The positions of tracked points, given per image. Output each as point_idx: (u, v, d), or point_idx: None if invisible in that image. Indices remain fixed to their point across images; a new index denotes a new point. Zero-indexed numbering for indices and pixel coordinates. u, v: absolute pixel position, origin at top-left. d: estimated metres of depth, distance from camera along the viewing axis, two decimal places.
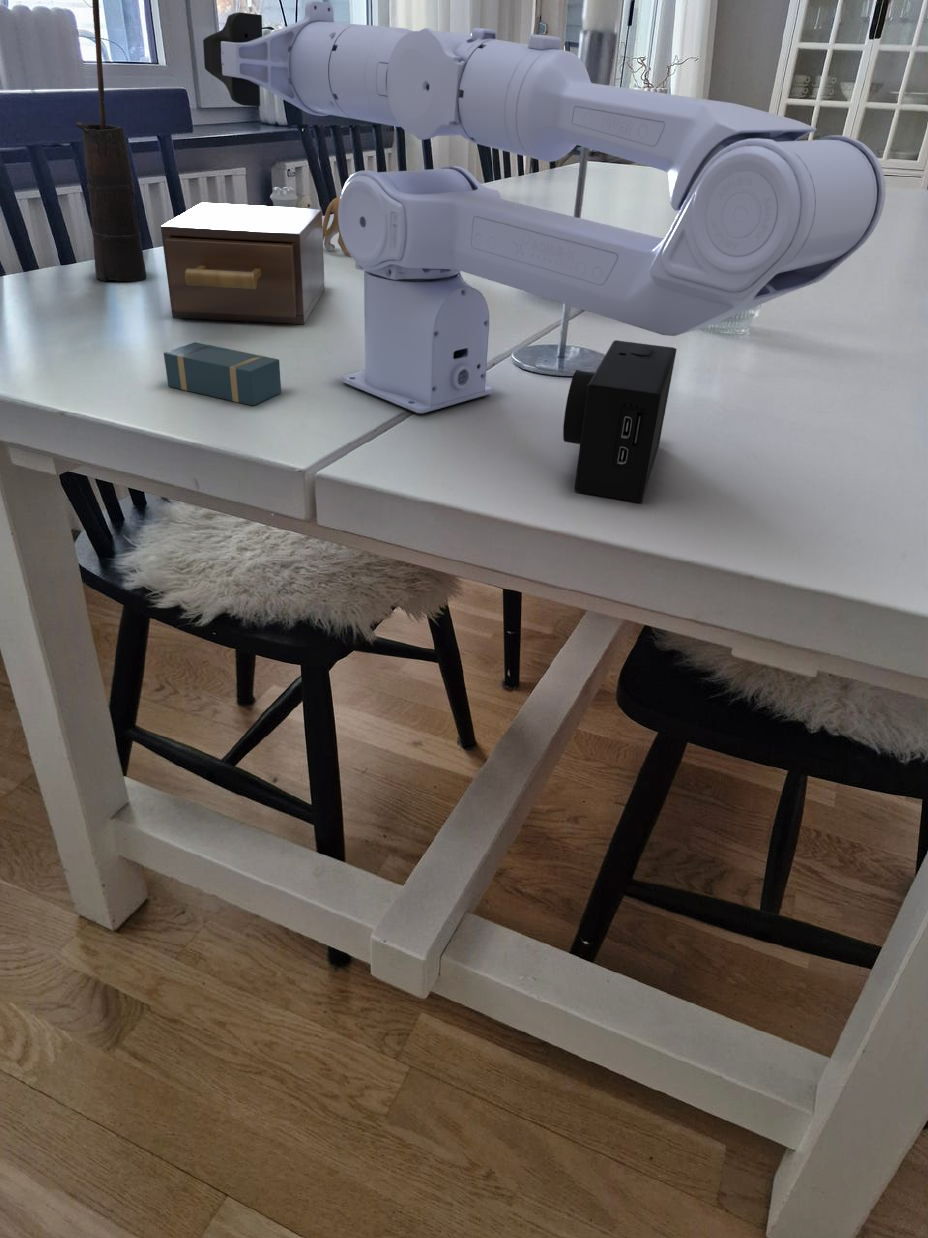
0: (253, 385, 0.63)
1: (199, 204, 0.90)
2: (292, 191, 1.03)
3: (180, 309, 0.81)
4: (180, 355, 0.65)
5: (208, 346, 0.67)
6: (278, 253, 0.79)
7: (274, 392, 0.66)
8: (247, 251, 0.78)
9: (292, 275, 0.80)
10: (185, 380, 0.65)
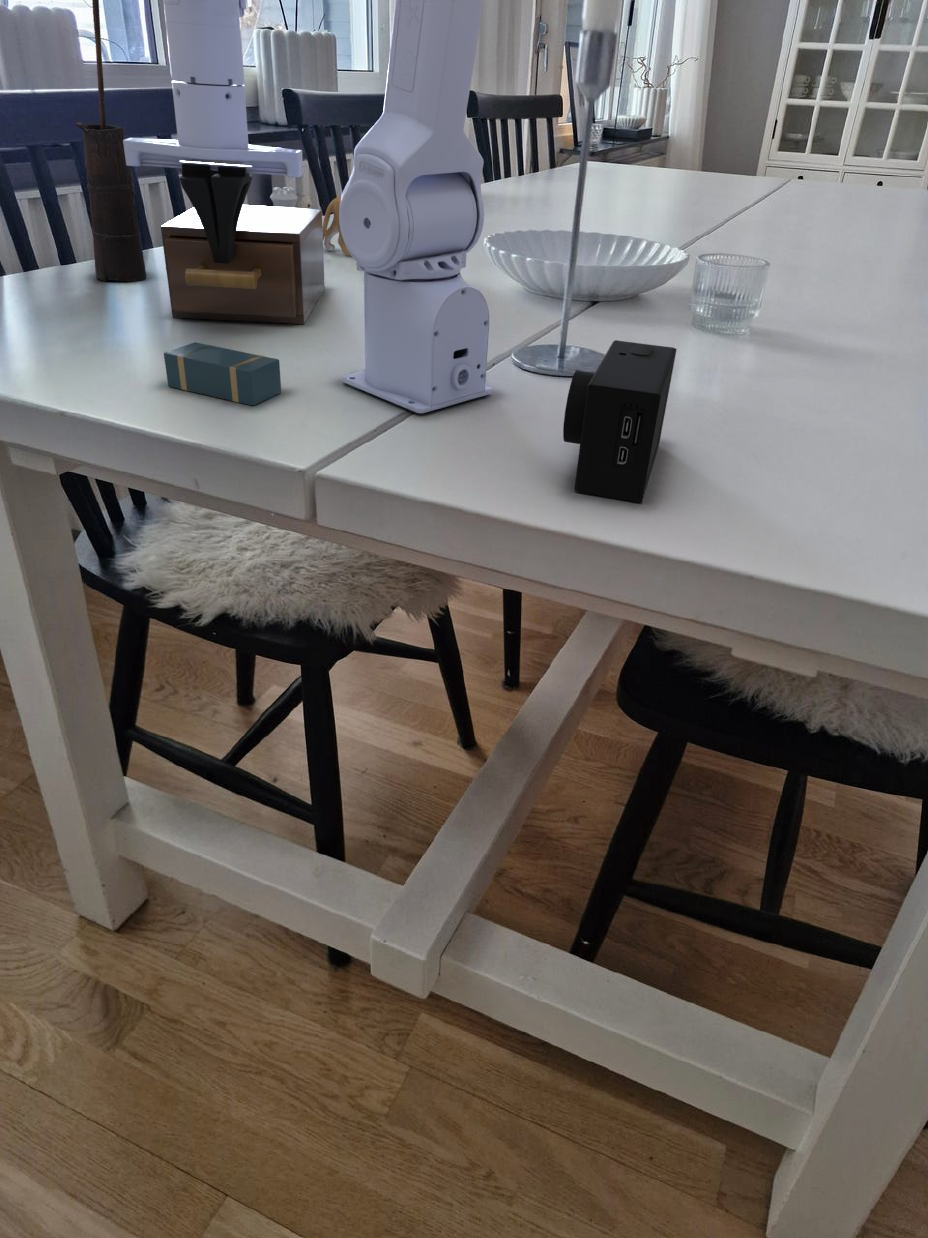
0: (253, 385, 0.63)
1: None
2: (292, 191, 1.03)
3: (180, 309, 0.81)
4: (180, 355, 0.65)
5: (208, 346, 0.67)
6: (278, 253, 0.79)
7: (274, 392, 0.66)
8: (247, 251, 0.78)
9: (292, 275, 0.80)
10: (185, 380, 0.65)
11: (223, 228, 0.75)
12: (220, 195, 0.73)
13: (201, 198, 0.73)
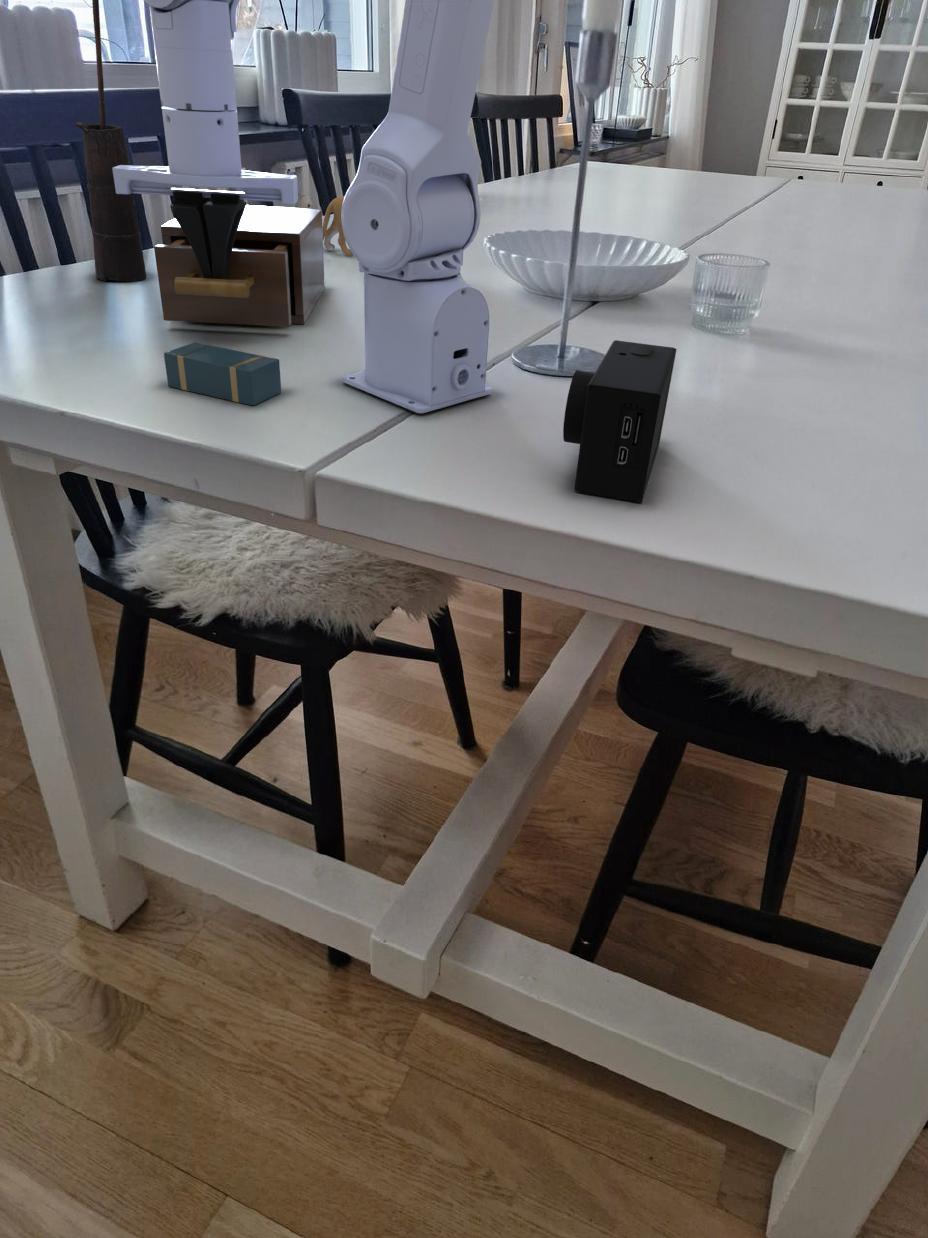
0: (253, 385, 0.63)
1: None
2: None
3: (170, 318, 0.78)
4: (180, 355, 0.65)
5: (208, 346, 0.67)
6: (272, 260, 0.76)
7: (274, 392, 0.66)
8: (239, 258, 0.76)
9: (286, 283, 0.77)
10: (185, 380, 0.65)
11: (216, 256, 0.72)
12: (213, 223, 0.70)
13: (193, 226, 0.71)
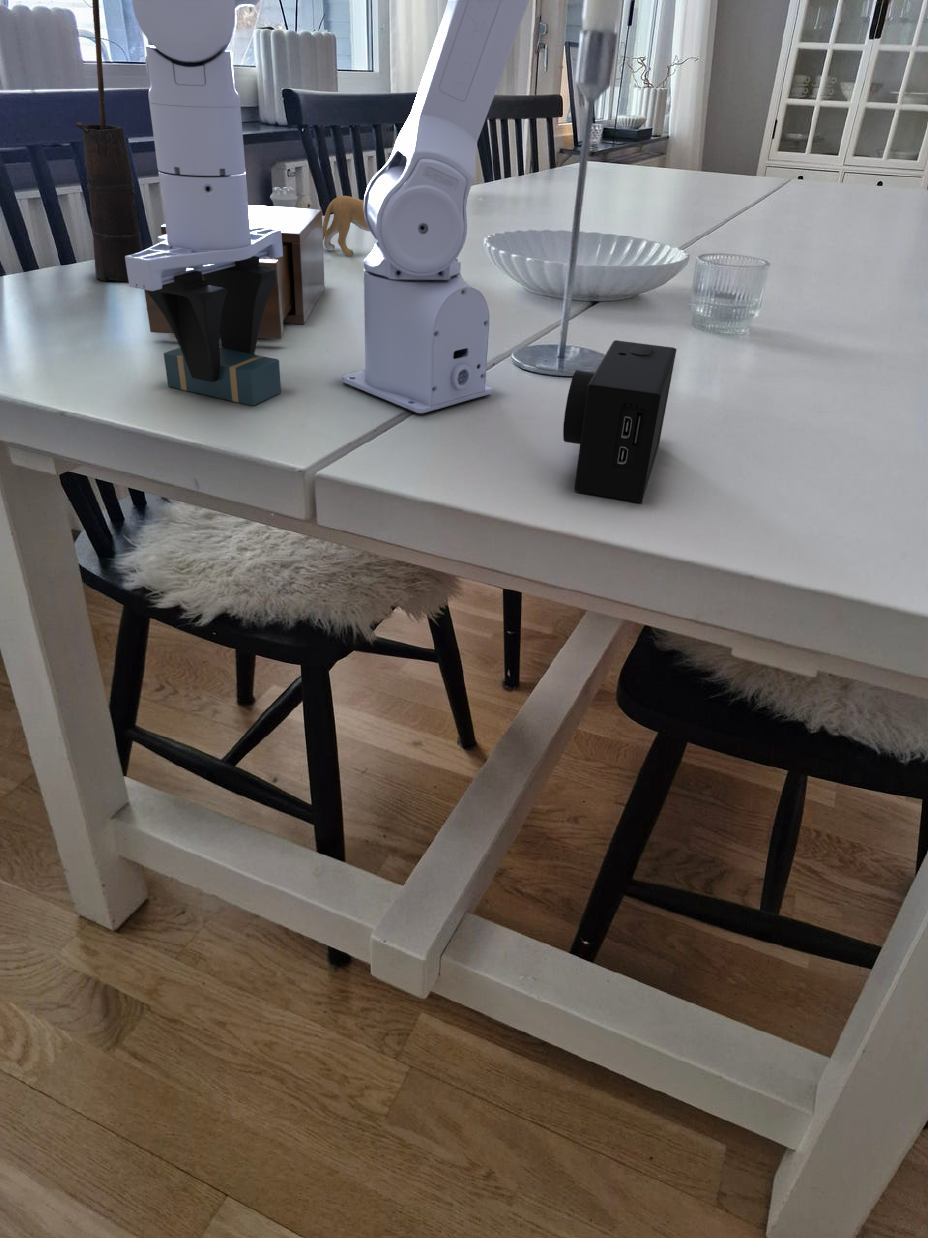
0: (252, 385, 0.63)
1: None
2: (292, 191, 1.03)
3: (157, 330, 0.75)
4: (180, 355, 0.65)
5: None
6: None
7: (274, 392, 0.66)
8: None
9: (278, 294, 0.73)
10: (185, 380, 0.65)
11: (255, 327, 0.65)
12: (262, 291, 0.64)
13: (216, 310, 0.60)
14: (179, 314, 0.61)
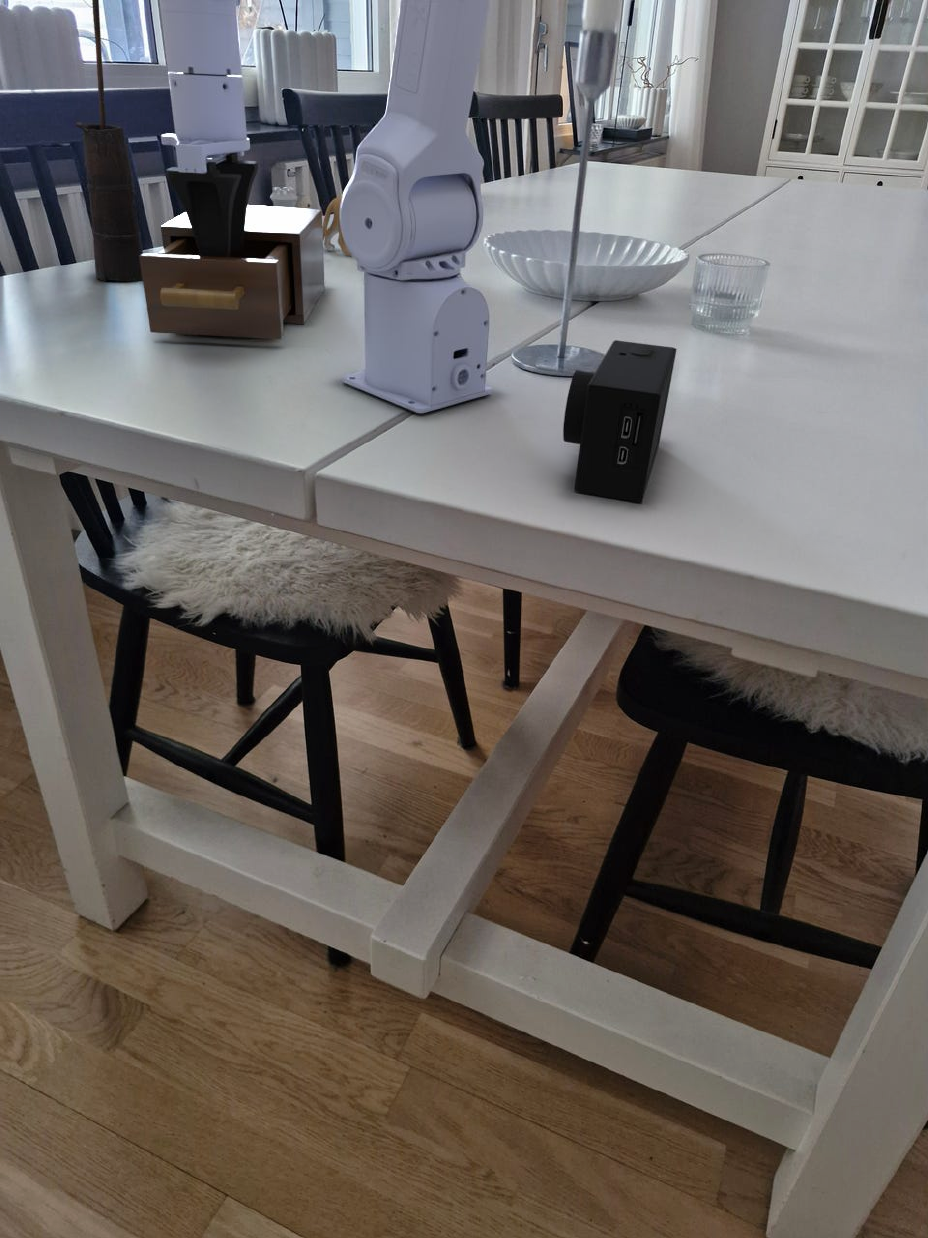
0: None
1: None
2: (292, 191, 1.03)
3: (157, 330, 0.75)
4: None
5: None
6: (263, 270, 0.72)
7: None
8: (229, 268, 0.72)
9: (278, 294, 0.73)
10: None
11: (245, 214, 0.77)
12: (251, 181, 0.76)
13: (233, 195, 0.71)
14: (194, 203, 0.71)
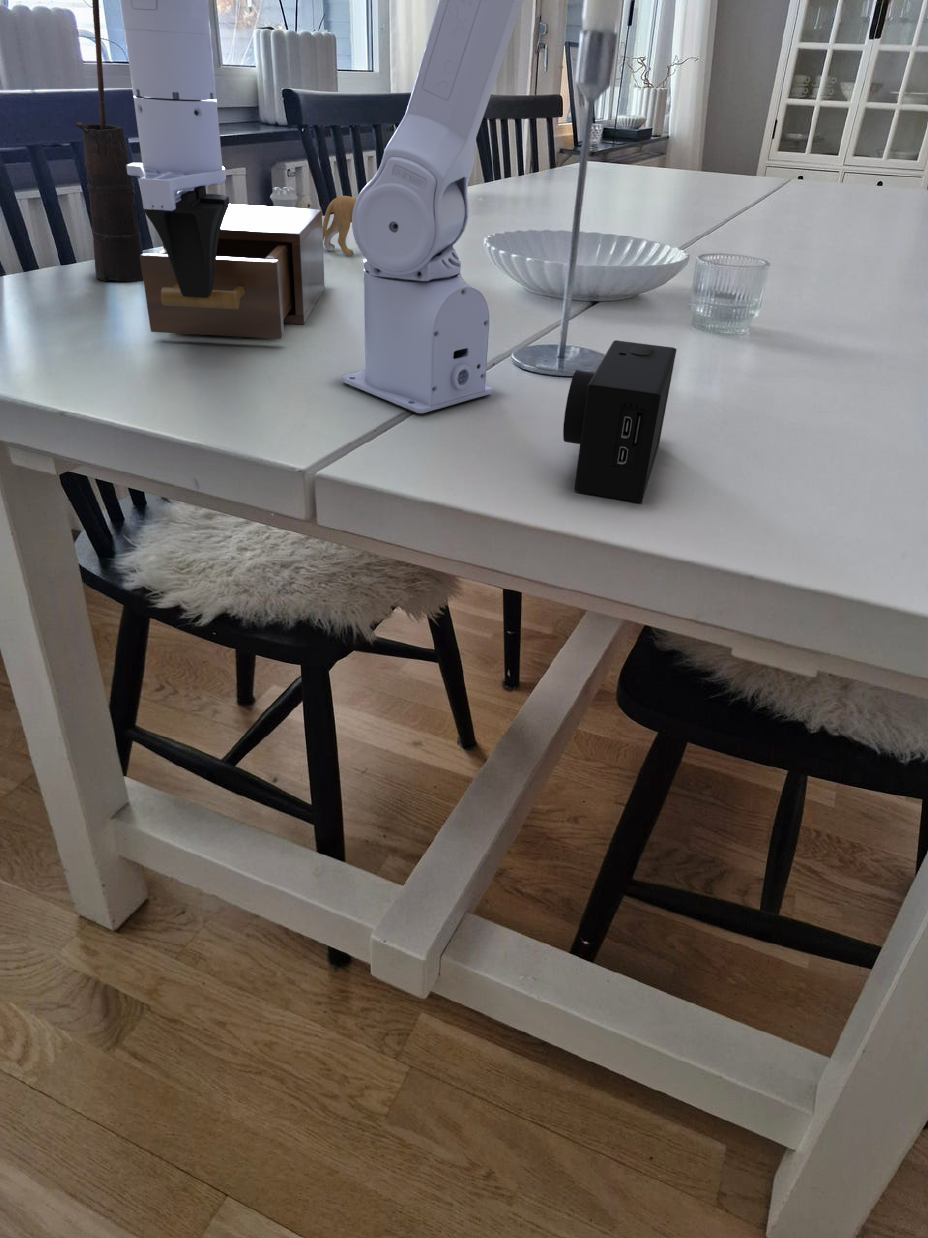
0: None
1: None
2: (292, 191, 1.03)
3: (157, 330, 0.75)
4: None
5: None
6: (263, 270, 0.72)
7: None
8: (229, 268, 0.72)
9: (278, 293, 0.74)
10: None
11: (215, 255, 0.68)
12: (221, 218, 0.67)
13: (215, 226, 0.66)
14: (173, 234, 0.66)
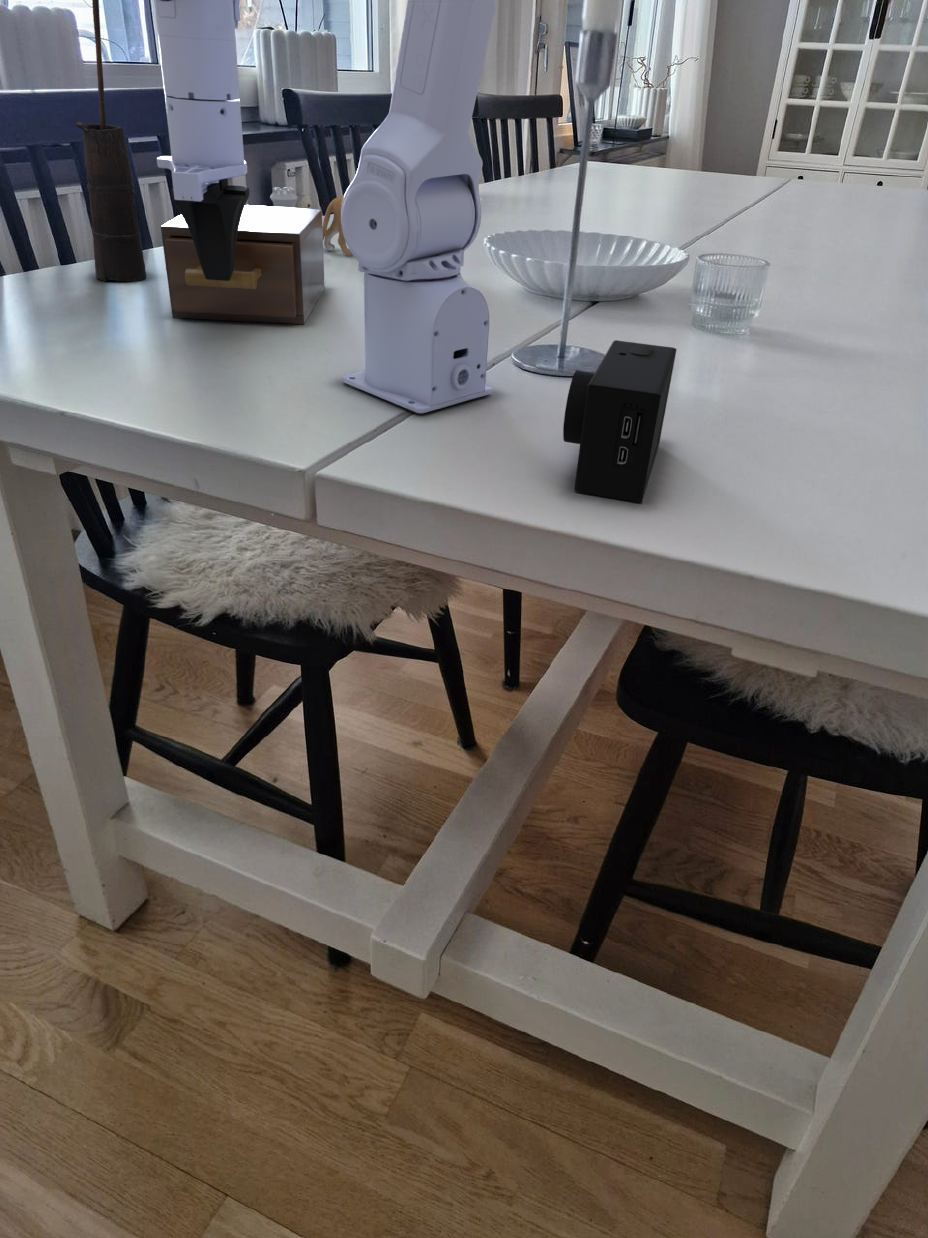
0: None
1: None
2: (292, 191, 1.03)
3: (180, 309, 0.81)
4: None
5: None
6: (278, 253, 0.79)
7: None
8: (247, 251, 0.78)
9: (292, 275, 0.80)
10: None
11: (235, 241, 0.74)
12: (242, 207, 0.73)
13: (237, 215, 0.72)
14: (198, 222, 0.72)
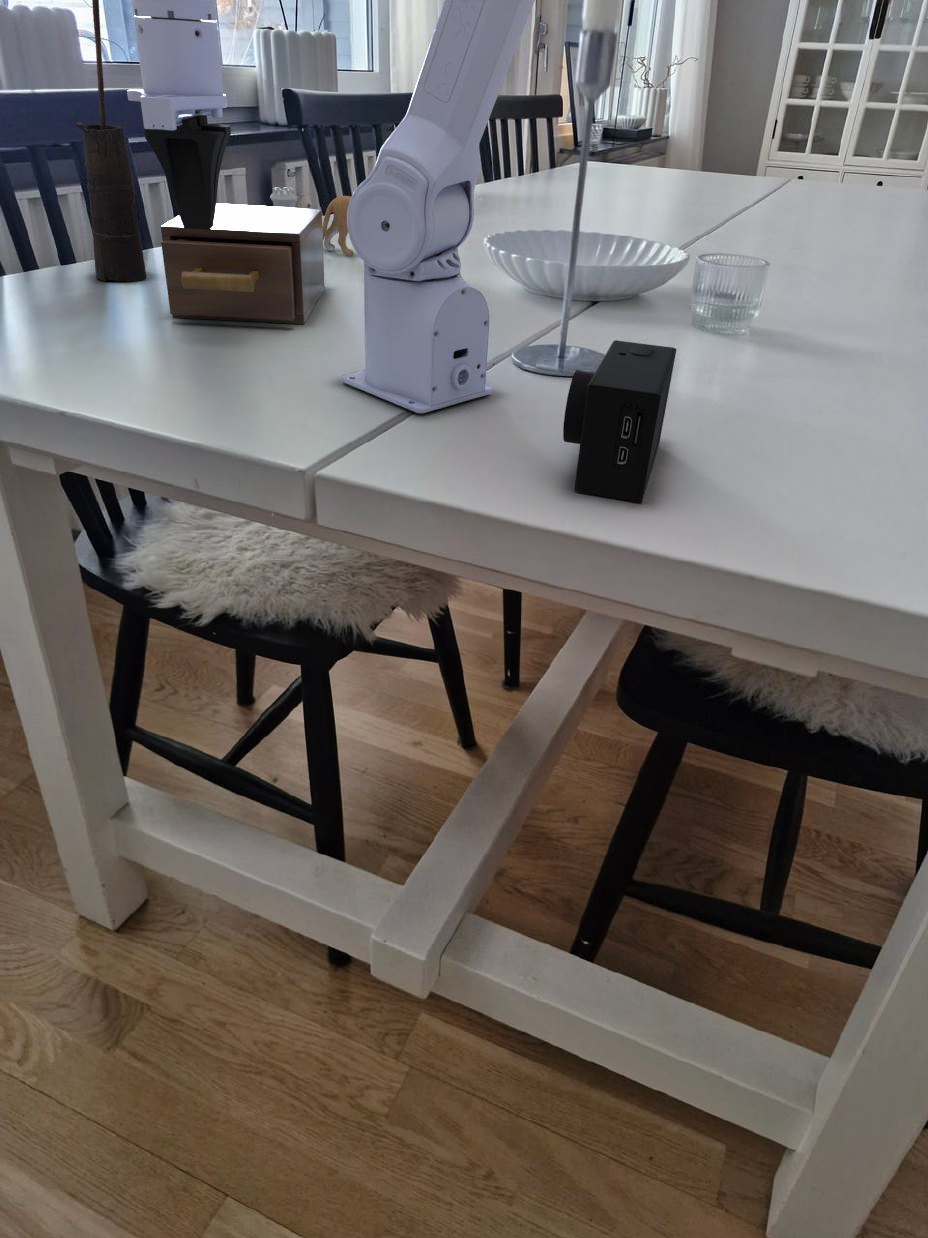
0: None
1: None
2: (292, 191, 1.03)
3: (176, 312, 0.80)
4: None
5: None
6: (276, 255, 0.78)
7: None
8: (244, 254, 0.77)
9: (290, 278, 0.79)
10: None
11: (216, 185, 0.68)
12: (222, 147, 0.67)
13: (216, 154, 0.65)
14: (174, 162, 0.66)
